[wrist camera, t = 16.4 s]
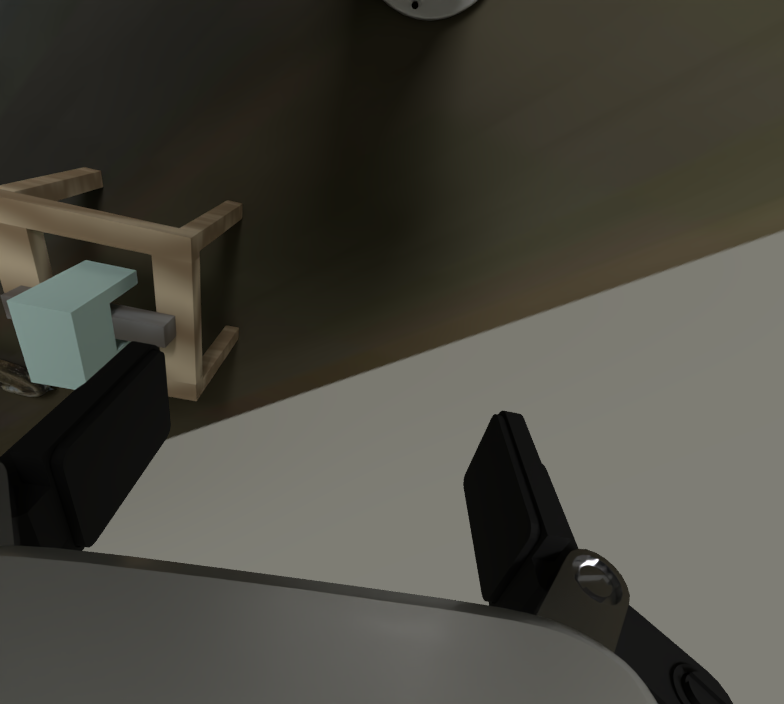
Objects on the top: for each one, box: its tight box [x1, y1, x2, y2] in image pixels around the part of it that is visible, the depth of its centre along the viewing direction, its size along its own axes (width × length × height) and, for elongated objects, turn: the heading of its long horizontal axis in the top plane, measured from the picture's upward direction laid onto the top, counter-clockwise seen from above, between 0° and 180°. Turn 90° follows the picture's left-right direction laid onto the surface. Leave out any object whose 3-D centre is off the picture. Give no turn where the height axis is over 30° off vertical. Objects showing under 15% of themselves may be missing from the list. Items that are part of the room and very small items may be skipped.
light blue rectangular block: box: [7, 260, 138, 390], centre depth 32 cm, size 7×4×8 cm, turn 167°
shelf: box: [0, 167, 243, 401], centre depth 38 cm, size 16×15×14 cm
